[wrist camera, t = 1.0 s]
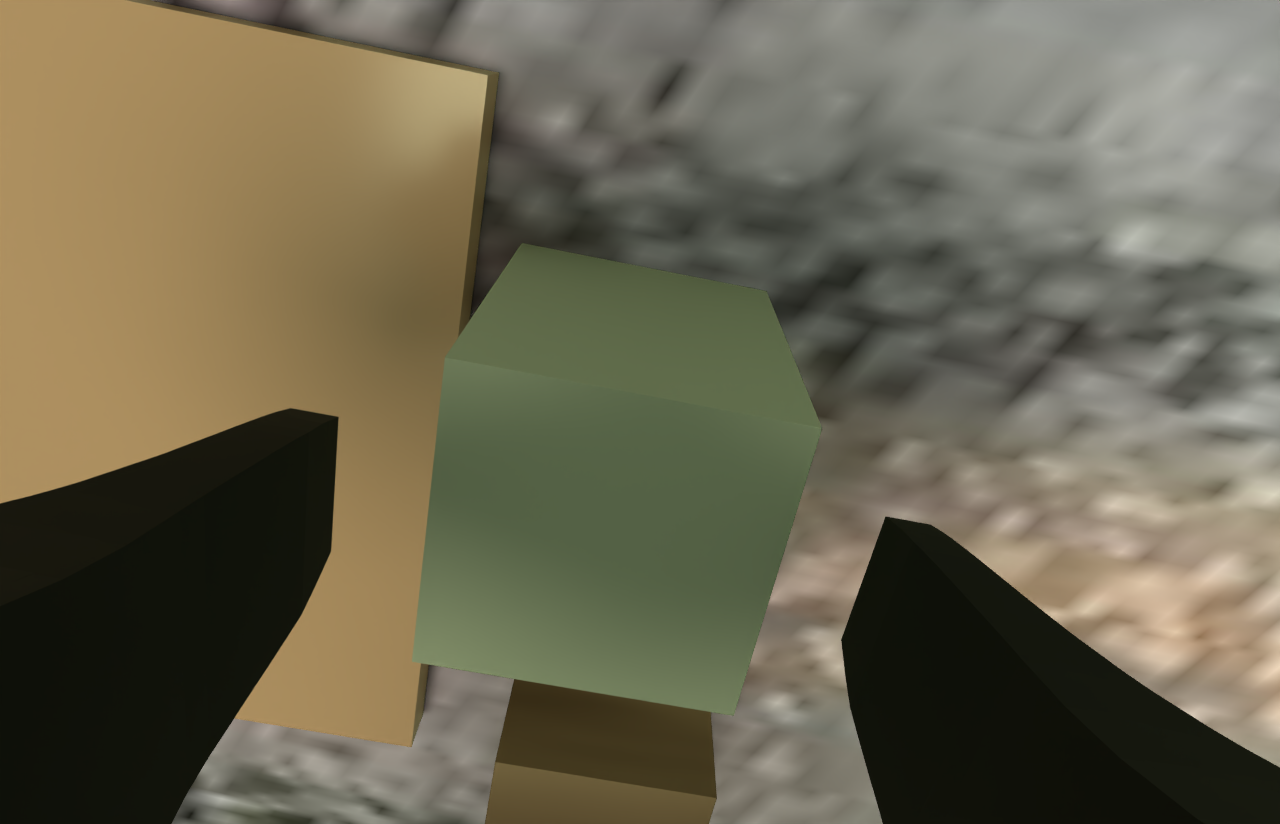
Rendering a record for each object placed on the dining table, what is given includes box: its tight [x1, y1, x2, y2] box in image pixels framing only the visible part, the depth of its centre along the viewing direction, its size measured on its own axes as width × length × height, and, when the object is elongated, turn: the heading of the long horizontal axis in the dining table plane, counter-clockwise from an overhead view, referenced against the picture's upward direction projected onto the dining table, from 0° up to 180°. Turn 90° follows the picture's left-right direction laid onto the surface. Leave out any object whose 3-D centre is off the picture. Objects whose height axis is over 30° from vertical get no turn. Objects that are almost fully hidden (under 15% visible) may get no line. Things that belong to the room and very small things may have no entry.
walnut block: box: [485, 679, 717, 824], centre depth 18 cm, size 4×4×4 cm
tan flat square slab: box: [0, 0, 499, 747], centre depth 16 cm, size 14×14×1 cm
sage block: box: [412, 243, 822, 716], centre depth 14 cm, size 4×4×6 cm
